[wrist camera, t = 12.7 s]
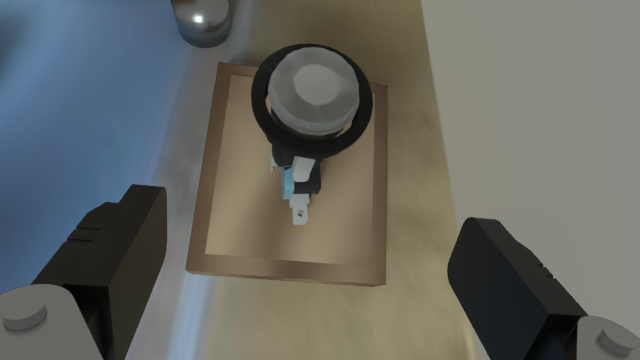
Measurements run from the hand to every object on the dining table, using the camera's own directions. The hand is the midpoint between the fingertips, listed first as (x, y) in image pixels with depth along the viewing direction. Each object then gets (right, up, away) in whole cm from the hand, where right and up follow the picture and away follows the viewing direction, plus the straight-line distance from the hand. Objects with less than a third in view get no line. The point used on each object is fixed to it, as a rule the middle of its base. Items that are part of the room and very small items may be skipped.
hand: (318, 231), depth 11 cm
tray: (-2, +1, +18) cm, 18 cm away
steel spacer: (-9, +14, +21) cm, 26 cm away
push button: (-2, +2, +15) cm, 15 cm away
